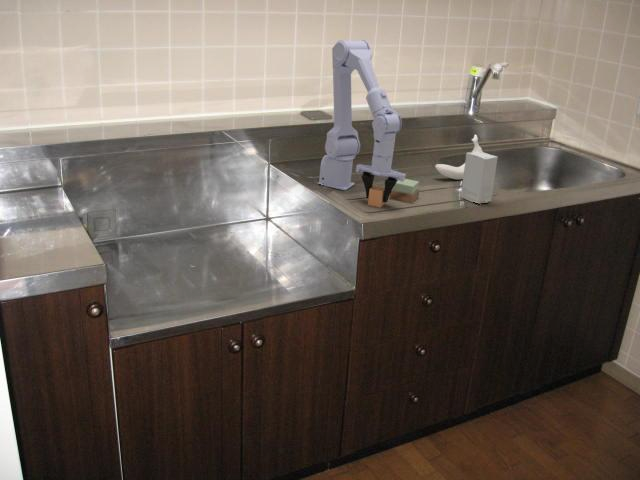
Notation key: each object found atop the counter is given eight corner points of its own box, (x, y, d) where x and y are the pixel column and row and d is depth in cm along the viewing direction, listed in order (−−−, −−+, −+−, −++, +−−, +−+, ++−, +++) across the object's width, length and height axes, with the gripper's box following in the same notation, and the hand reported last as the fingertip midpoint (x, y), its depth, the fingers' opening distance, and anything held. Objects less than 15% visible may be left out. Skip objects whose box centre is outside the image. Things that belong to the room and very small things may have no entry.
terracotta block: (367, 204, 206) (369, 188, 204) (372, 201, 210) (374, 185, 208) (380, 207, 205) (382, 191, 203) (385, 204, 208) (387, 188, 206)
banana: (432, 179, 236) (439, 136, 230) (471, 173, 247) (478, 133, 241) (442, 183, 232) (449, 140, 227) (481, 178, 243) (489, 136, 237)
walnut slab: (389, 199, 213) (390, 190, 212) (396, 194, 219) (397, 184, 218) (411, 204, 211) (412, 195, 210) (418, 198, 217) (419, 189, 216)
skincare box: (491, 203, 218) (500, 157, 212) (477, 205, 215) (486, 158, 209) (472, 194, 224) (480, 149, 218) (458, 196, 221) (466, 151, 215)
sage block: (393, 190, 212) (394, 182, 211) (399, 185, 217) (400, 177, 216) (411, 194, 210) (413, 186, 209) (417, 189, 215) (419, 181, 214)
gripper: (354, 152, 201) (349, 197, 206) (402, 162, 195) (396, 208, 201) (363, 147, 207) (357, 191, 212) (410, 157, 202) (403, 202, 207)
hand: (377, 199), depth 207 cm, fingers open, 5 cm apart
